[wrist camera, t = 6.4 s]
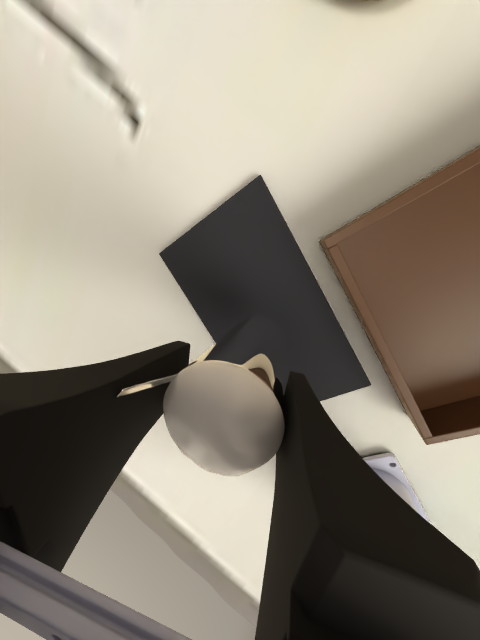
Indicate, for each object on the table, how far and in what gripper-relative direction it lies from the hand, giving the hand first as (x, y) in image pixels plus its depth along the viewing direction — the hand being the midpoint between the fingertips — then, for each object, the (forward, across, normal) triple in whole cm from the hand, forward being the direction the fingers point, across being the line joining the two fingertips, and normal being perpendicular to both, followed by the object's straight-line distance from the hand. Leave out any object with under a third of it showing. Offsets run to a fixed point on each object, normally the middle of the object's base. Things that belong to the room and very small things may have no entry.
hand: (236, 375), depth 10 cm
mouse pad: (+9, 0, 0) cm, 9 cm away
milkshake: (+6, 0, 0) cm, 6 cm away
